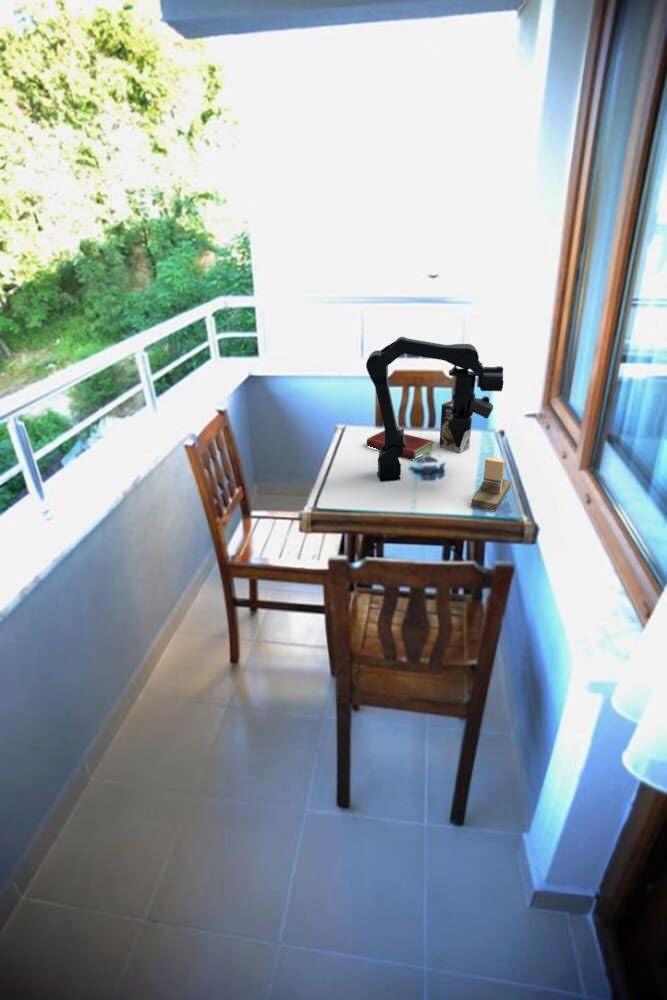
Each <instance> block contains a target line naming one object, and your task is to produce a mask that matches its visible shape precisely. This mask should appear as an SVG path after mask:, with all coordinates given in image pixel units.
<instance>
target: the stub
mask: <svg viewBox="0 0 667 1000" xmlns="http://www.w3.org/2000/svg"><path fill="white" fill-rule="evenodd" d="M505 464H506V460H505V459H499V458H493V457H486V458H485V461H484V469H483V480H484V479H487V480H492V481H498V482H502V480H503V479H504V474H505V473H504V472H505V466H506V465H505Z"/></svg>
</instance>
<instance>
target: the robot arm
mask: <svg viewBox="0 0 667 1000" xmlns="http://www.w3.org/2000/svg"><path fill="white" fill-rule="evenodd" d="M403 354H405V355H411V356H416V357H423V358H427V359H433V360H434V359H435V360H440V361H444V362H447V363H449V364H451V365H453V367H452V368H451V369H449V370H448V375H449V376H451V377H454V385H453V386H454V387H453V395H452V401H453V407H452V414H453V415H452V416H451V417H450V418H449V424H448V427H449V429H450V431H451V434H452V436H453V439H454V442H455V445H456V447H460V446H461V442H462V439H463V436H464V433H465V432H466V431H468V430H470V429H471V430H472V426H471V423H473V415H474V414H476V415H477V416H481V417H483V418H484V419H489V417H490V415H491V413H492V412H493V409H494V405H493V404H492V402H490V397H489V396H486V395H484V396H483V397H481V398H476V393H475V386H476V387H477V388H479V389H480V392H503V388H504V367H503V366H483V362H480V360H479V358H480V356H479V353H478V350H477V349H476V347H475V346H474V345H473V344H470V343H453V344H442V343H436V342H431V341H424V340H417V339H412V338H408V337H404V336H400V337H397V338H396V339H395V340H394V341H393V342H392V343H390V344H388V345H386V346H384V347H383V348H382V349H381V350H374V351H372V353H370V354H369V356H368V358H367V361H366V362H365V363H366V364H365V368H366V371H367V373H368V375H369V378H370V380H371V382H372V383H373V386H374V387H375V392H376V395H377V401H378V405H379V410H380V414H381V419H382V424H383V428H384V430H385V444H384V445H383V446H382V447H381V448H380V451H378V452H379V453H378V457H377V471H376V475H377V477H378V479H379V482H381V483H382V482H389V481H390V482H391V481H392V482H393V481H401V477H400V476H401V475H402V474H401V473H402V472H401V471H402V468H401V467H402V464H401V462H400V459H399V458H402V457H401V456H402V454H403V452H404V448H406V438H405V436H404V434H405V429H404V428H399V426H398V423H397V419H396V414H395V413H396V412H395V410H394V405H393V399H392V394H391V390H390V385H389V365H391V364H392V363H393V362H394V361H395V360H397V359H399V357H400V356H401V355H403ZM476 377H477V379H476ZM471 416H472V418H471Z"/></svg>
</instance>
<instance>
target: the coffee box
mask: <svg viewBox="0 0 667 1000" xmlns="http://www.w3.org/2000/svg"><path fill="white" fill-rule="evenodd" d="M452 407H453V400H450V401H447V402H445V403H442V404H441V412H440V413H441V414H440V415H441V416H440V430H439V444H438V445H439V449H444V450H446V451H450V452H454V453H457V454H462V453H465V452H466V451H468V450H469V449H470V448H471V447H470V446H471V435H472V434H471V433H472V428H471V429H470V430H468V431H466V432H465V433H464V436H463V439H462V442H461V446H460V447H456V445H455V442H454V439H453V436H452V434H451V431H450V429H449V427H448V424H449V418H450V417H451V416H452V415H453V414H452ZM471 418H472V419H473V415H472V416H471ZM472 423H473V422H472ZM472 423H471V427H472V425H473V424H472Z"/></svg>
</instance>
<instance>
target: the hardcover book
mask: <svg viewBox="0 0 667 1000" xmlns="http://www.w3.org/2000/svg"><path fill="white" fill-rule="evenodd" d="M404 436H405V438H406V448H404V452H403V454H402V456H401V457H400V458H403V459H407V460H409V459H415V458H416V457H417V456H419V455H421V454H424V453H427V452H429V453H430V452H432V451H433V444H434V443H435V440H431V439H427V438H423V437H420V436H419V437H418V436H414V435H410V434H407V433H404ZM384 444H385V429H384V430H382V431H380V432H378V433H376V434H374V435H372V436H370V437H368V438H366V447H367V446H370V447H373V448H376V449H378V450H380V448H381V447H382V446H383V445H384ZM427 454H428V453H427Z"/></svg>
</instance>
